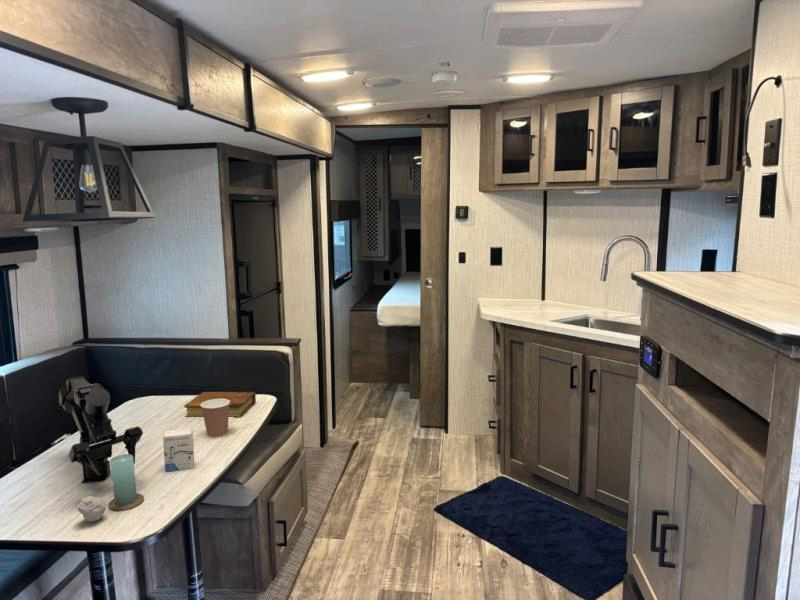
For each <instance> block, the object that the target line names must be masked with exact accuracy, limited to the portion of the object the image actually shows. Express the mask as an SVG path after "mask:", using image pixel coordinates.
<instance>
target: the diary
mask: <svg viewBox="0 0 800 600" xmlns="http://www.w3.org/2000/svg"><path fill="white" fill-rule="evenodd" d="M256 397H257V396H256V392H255V391H203V392H201V393H199V394H198V395H196V396H195V397H194V398H193V399H191V400H189V401H188V402H187V403H185V404H184V406H183V407H184V409H185V408H186V414H187V415H185V416H184V418H185V417H204V416H203V412H202V407H201V403H203V402H205V401H208V400H212V399H227V400H229V401H230V403H229V417H234V418H233V419H241V418H243V416H244V415H245V414H246V413H247V412H248V411H249V410H250V409H251V408H252V407H253V406H254V405H255V404H256V403H257V401H256V400H257V398H256Z"/></svg>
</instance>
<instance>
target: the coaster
mask: <svg viewBox="0 0 800 600" xmlns="http://www.w3.org/2000/svg"><path fill="white" fill-rule="evenodd" d="M136 493H137V492H136ZM144 500H145V496H144V494H142V493H137V500H136V501H135V502H133V503H132V504H129V505H125V506H117V505H115V500H114V498H113V499H111V500H110V501H109V502H108V505H107V508H108V509H109V511H112V512H123V511H124V512H125V511H128V510H132V509H135V508H136V507H138V506H140V505H142V504H143V503H144Z"/></svg>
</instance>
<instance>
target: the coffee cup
mask: <svg viewBox="0 0 800 600" xmlns="http://www.w3.org/2000/svg"><path fill="white" fill-rule="evenodd" d="M229 403H230V401H229V400H227V399H212V400H208V401H205V402H203V403H201V407H202V412H203V416H204V418H203V421H204V425H205V430H206V434H207V436H208V438H212V437H217V438H221V436H222V437H224V436H226V435H228V430H229V418H228V417H229Z"/></svg>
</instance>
